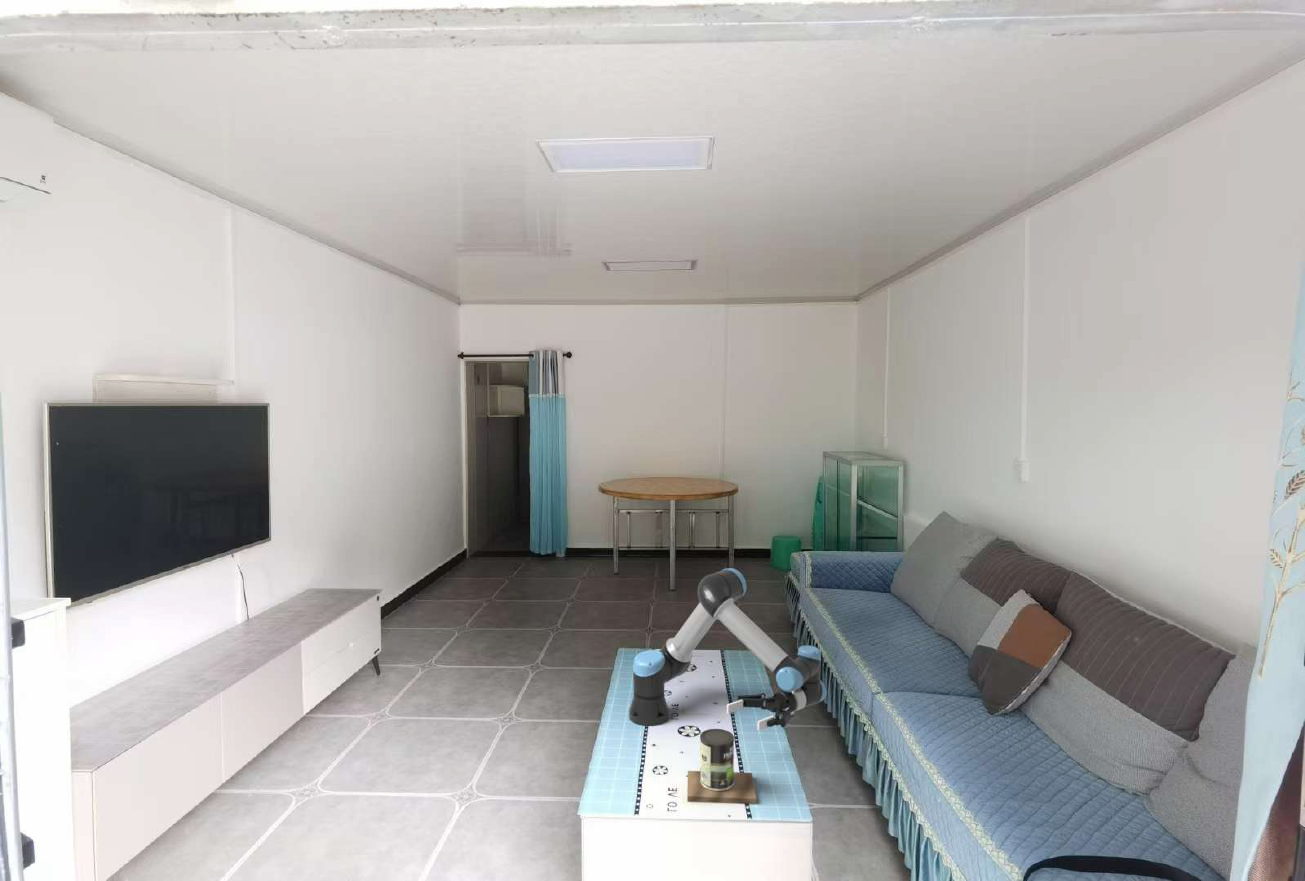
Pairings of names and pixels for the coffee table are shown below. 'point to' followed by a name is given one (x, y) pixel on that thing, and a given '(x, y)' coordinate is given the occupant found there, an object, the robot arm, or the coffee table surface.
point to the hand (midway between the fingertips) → (742, 717)
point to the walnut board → (736, 794)
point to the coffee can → (717, 759)
